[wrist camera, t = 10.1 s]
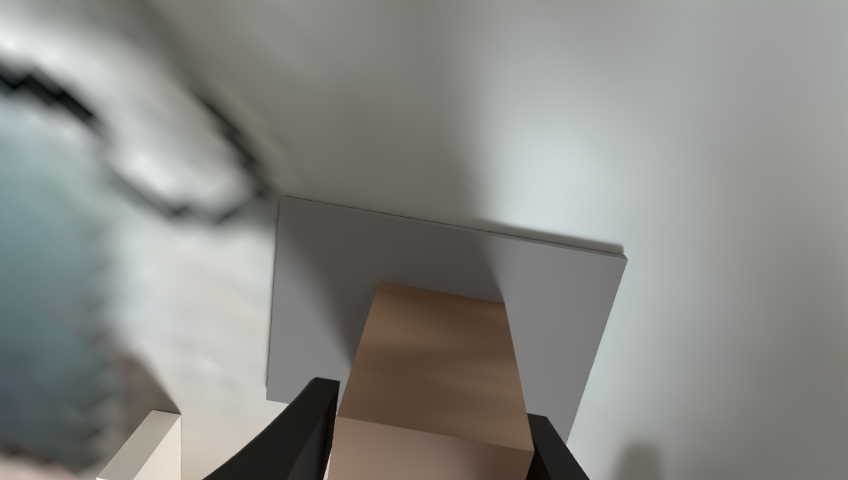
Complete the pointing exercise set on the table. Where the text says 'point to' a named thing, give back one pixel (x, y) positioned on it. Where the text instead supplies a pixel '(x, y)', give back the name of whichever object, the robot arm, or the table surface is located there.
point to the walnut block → (432, 393)
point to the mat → (438, 271)
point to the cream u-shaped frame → (149, 451)
